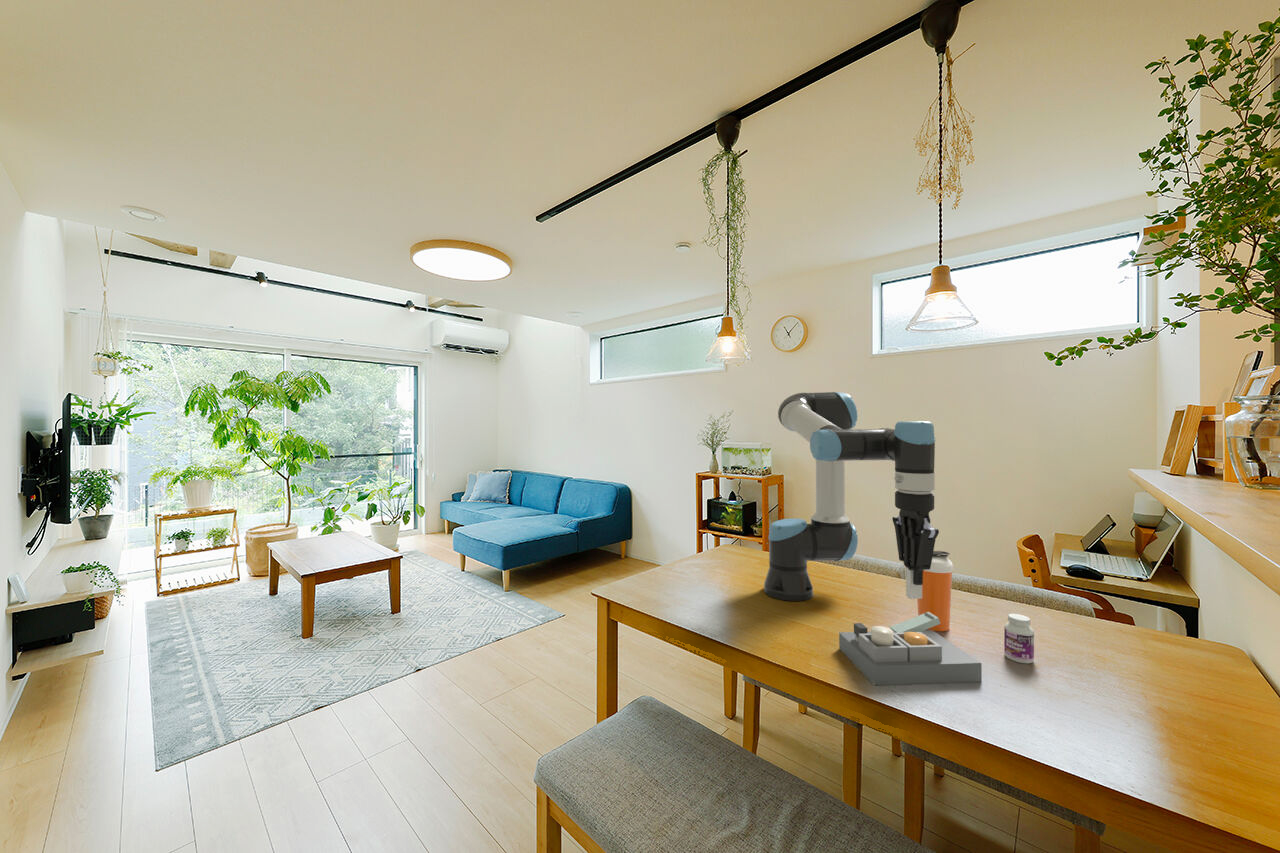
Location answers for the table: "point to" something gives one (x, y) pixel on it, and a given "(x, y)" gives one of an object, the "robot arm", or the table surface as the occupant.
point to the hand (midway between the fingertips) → (914, 597)
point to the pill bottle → (1019, 639)
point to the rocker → (917, 623)
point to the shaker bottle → (937, 590)
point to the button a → (882, 636)
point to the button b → (915, 638)
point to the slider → (859, 629)
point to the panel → (910, 660)
